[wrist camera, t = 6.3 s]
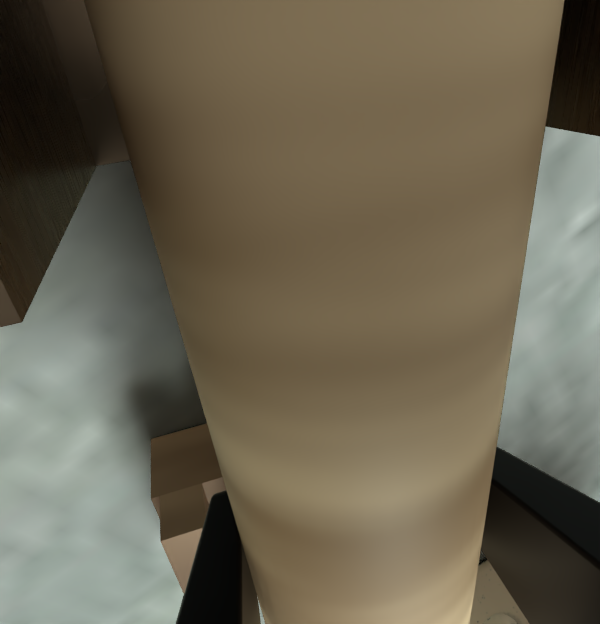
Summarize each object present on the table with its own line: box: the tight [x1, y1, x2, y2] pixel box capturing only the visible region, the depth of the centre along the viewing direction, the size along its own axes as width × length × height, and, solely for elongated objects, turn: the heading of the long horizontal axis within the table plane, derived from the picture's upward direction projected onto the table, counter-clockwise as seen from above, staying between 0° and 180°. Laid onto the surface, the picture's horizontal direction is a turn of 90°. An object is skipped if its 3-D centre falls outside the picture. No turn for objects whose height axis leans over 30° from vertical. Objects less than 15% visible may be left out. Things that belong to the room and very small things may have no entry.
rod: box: [84, 0, 565, 624], centre depth 7 cm, size 16×4×4 cm, turn 6°
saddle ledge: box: [151, 423, 226, 593], centre depth 13 cm, size 5×8×3 cm, turn 97°
